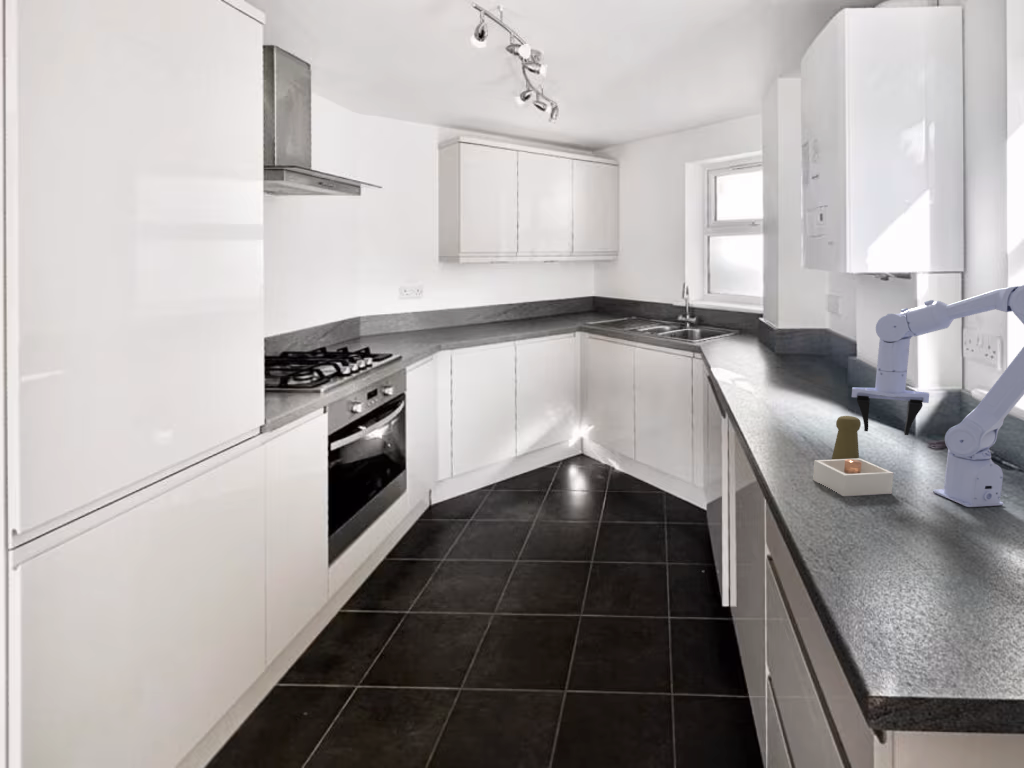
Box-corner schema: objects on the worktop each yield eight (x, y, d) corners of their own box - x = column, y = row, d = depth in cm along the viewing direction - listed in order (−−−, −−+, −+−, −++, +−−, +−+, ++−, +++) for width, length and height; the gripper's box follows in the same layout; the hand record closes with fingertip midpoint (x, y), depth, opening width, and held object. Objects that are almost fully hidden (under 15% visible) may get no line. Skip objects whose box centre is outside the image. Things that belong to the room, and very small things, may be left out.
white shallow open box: (891, 493, 144) (893, 472, 143) (843, 496, 142) (844, 475, 141) (852, 474, 156) (854, 455, 155) (807, 477, 155) (809, 457, 154)
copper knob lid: (885, 490, 144) (887, 466, 143) (844, 492, 143) (846, 468, 142) (857, 476, 153) (859, 454, 152) (818, 478, 152) (820, 456, 151)
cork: (835, 456, 170) (838, 412, 168) (862, 461, 167) (866, 416, 165) (828, 462, 166) (831, 417, 164) (855, 467, 162) (859, 420, 160)
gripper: (853, 370, 149) (848, 432, 151) (932, 375, 143) (926, 440, 145) (854, 366, 155) (849, 425, 158) (930, 370, 149) (923, 432, 151)
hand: (885, 432), depth 152 cm, fingers open, 7 cm apart
